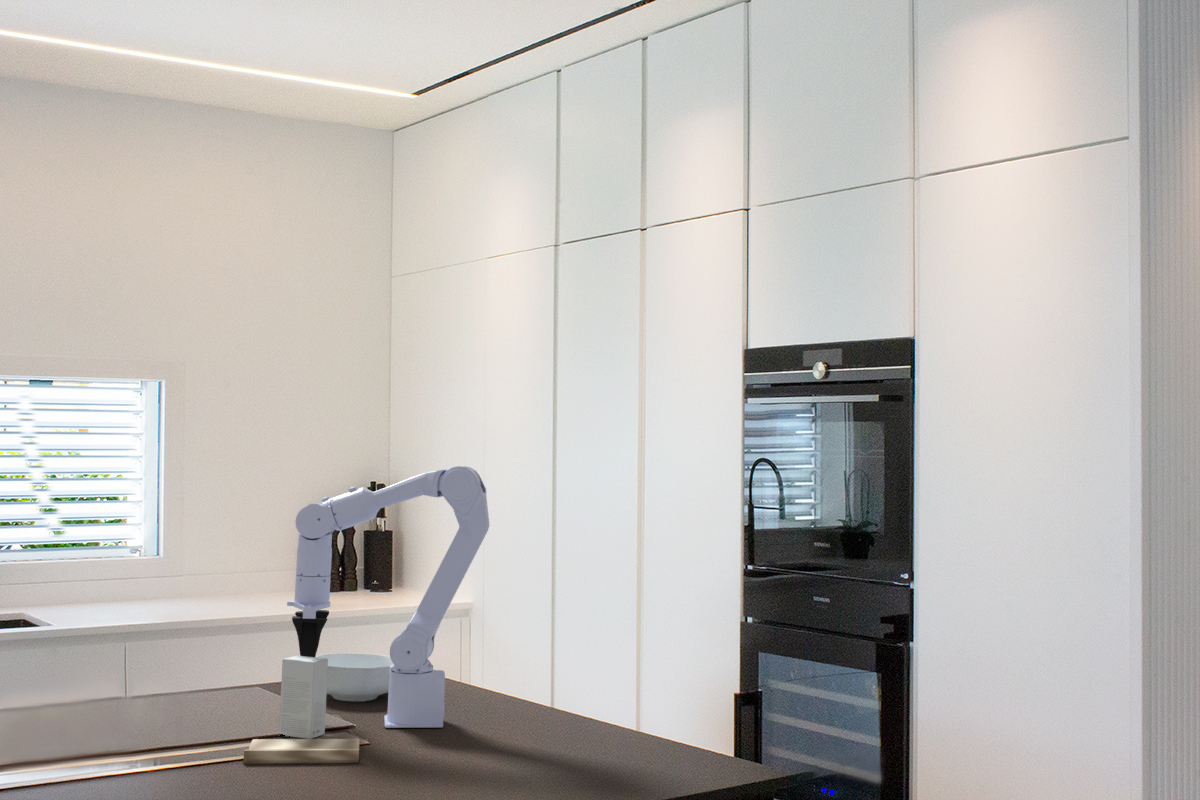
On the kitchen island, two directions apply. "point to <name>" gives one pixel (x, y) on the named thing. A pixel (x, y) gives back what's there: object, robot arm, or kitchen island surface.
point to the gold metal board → (302, 751)
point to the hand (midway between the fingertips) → (308, 656)
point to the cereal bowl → (357, 675)
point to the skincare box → (303, 697)
